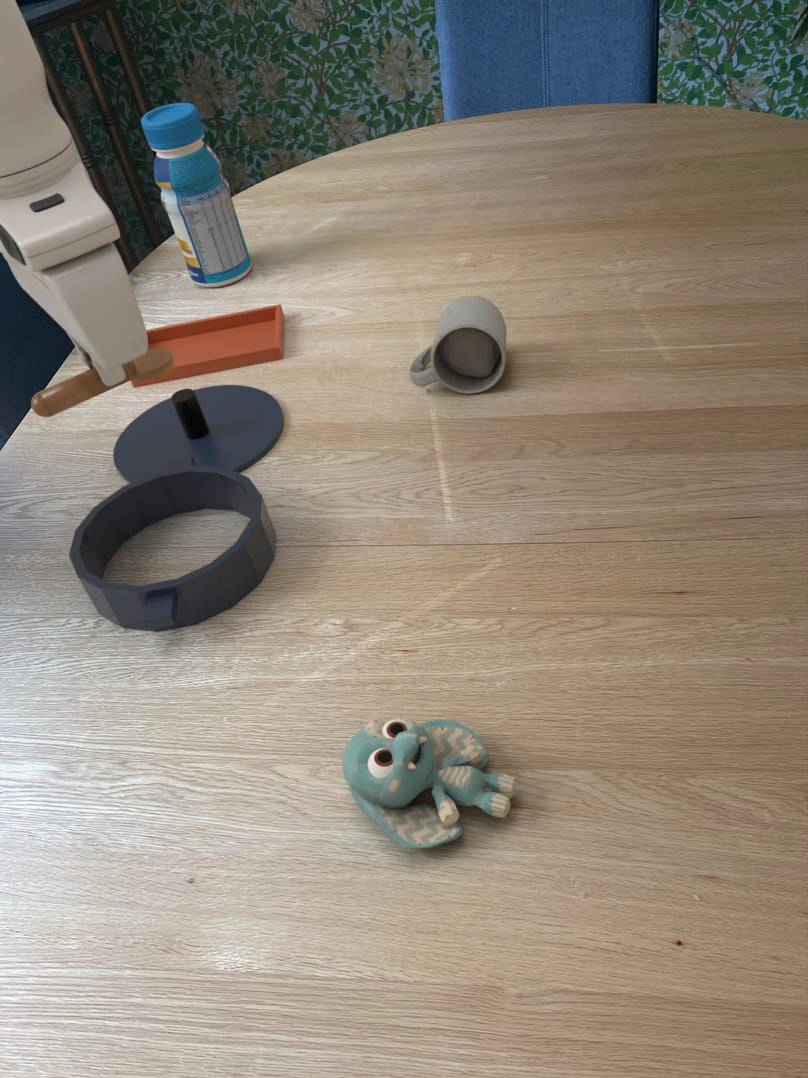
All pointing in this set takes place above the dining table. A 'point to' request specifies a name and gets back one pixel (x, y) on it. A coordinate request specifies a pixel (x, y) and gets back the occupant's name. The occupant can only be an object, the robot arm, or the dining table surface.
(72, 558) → the pot
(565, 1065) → the dining table surface
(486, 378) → the ceramic mug
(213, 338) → the tray
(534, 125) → the dining table surface
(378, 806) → the stuffed animal
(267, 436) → the lid
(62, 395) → the spoon
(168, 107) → the beverage bottle
